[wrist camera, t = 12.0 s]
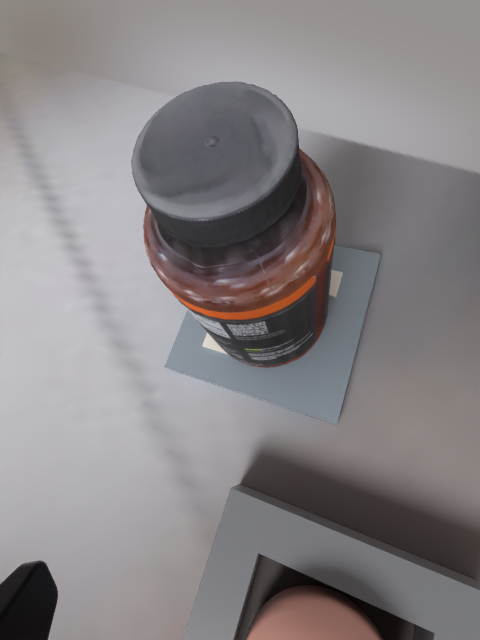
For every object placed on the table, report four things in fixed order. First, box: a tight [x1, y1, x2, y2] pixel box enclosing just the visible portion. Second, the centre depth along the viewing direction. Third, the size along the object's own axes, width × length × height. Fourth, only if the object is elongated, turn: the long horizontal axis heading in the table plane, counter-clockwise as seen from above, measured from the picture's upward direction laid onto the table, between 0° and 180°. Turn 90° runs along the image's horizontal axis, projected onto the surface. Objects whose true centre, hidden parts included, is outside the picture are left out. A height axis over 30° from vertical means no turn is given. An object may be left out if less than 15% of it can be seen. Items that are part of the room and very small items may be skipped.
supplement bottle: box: [131, 82, 336, 368], centre depth 13 cm, size 6×6×11 cm
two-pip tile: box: [165, 245, 381, 425], centre depth 19 cm, size 9×9×1 cm
